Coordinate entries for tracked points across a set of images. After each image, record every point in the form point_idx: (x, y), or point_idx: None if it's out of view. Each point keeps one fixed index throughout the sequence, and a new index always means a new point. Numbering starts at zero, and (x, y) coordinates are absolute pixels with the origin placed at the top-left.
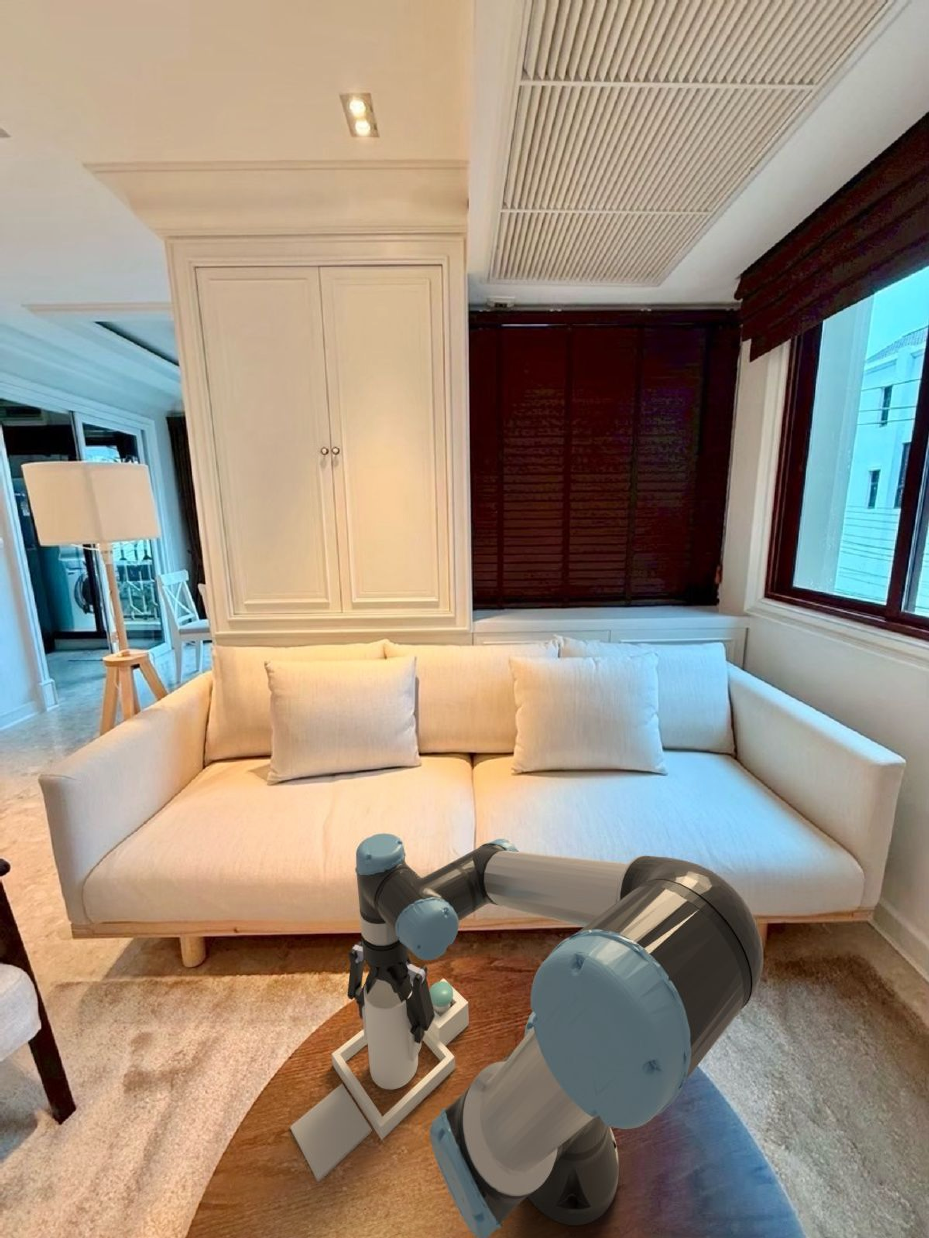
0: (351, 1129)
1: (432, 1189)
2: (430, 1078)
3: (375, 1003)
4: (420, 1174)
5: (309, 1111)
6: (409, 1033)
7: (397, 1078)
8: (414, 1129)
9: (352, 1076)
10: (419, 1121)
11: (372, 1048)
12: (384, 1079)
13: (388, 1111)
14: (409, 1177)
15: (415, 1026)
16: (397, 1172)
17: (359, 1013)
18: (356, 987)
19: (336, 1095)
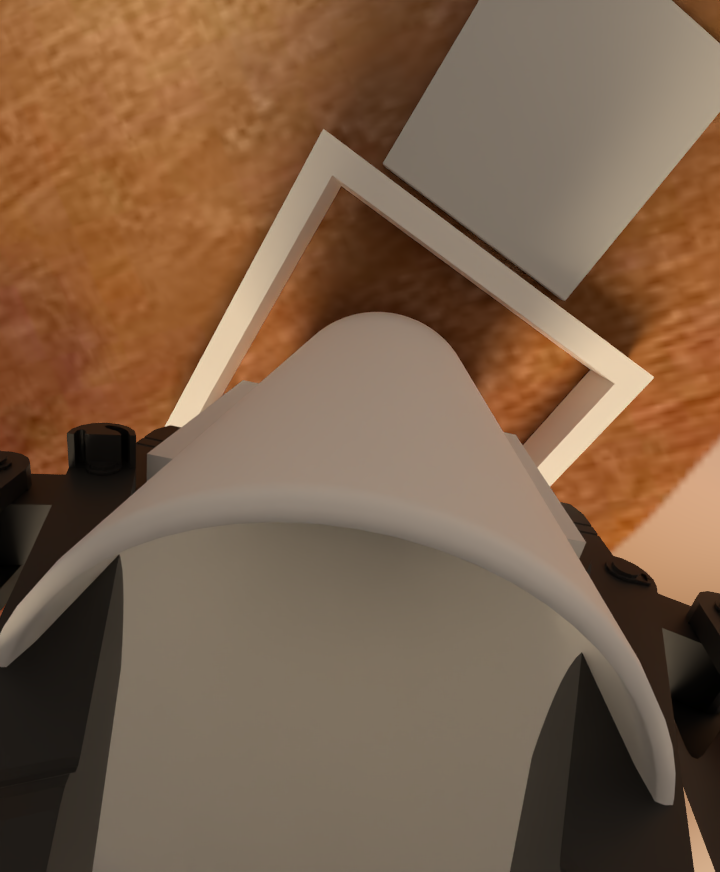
0: (463, 138)
1: (87, 31)
2: (201, 367)
3: (494, 587)
4: (148, 69)
5: (675, 160)
6: (187, 441)
7: (321, 331)
8: (229, 216)
9: (524, 306)
10: (222, 247)
11: (438, 357)
12: (374, 316)
13: (316, 204)
14: (182, 46)
15: (89, 467)
16: (231, 49)
17: (587, 521)
18: (699, 686)
19: (572, 250)
